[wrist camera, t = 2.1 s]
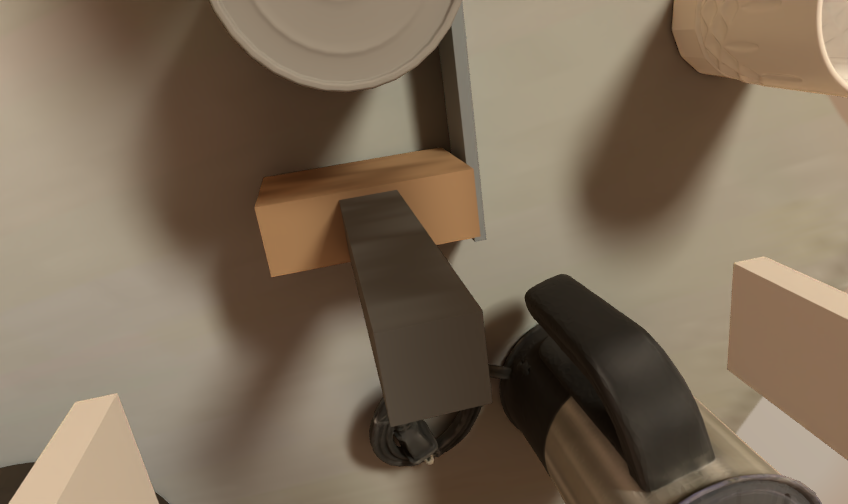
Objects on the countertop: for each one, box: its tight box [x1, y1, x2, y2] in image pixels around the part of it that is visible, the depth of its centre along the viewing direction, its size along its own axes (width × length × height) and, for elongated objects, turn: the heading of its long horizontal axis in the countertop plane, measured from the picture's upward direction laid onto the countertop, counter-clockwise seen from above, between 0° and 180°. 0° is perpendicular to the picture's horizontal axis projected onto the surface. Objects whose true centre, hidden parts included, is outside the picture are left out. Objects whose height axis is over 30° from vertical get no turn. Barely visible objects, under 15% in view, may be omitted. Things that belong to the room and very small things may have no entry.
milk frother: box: [369, 274, 822, 504], centre depth 29 cm, size 14×16×15 cm
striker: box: [254, 147, 492, 427], centre depth 21 cm, size 9×3×18 cm, turn 98°
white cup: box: [672, 0, 848, 98], centre depth 26 cm, size 8×8×10 cm
